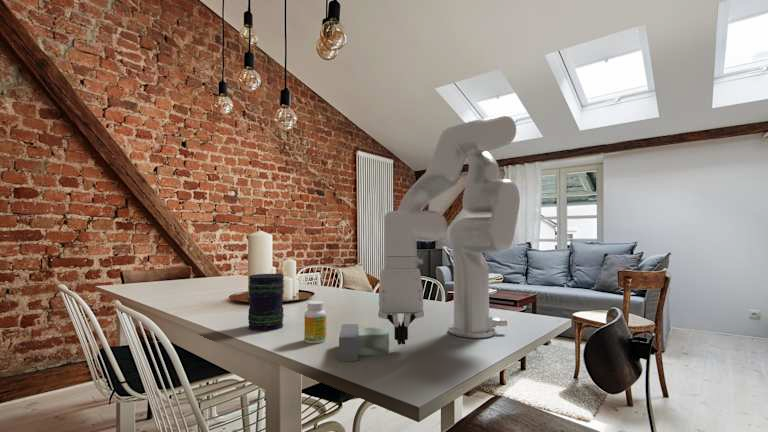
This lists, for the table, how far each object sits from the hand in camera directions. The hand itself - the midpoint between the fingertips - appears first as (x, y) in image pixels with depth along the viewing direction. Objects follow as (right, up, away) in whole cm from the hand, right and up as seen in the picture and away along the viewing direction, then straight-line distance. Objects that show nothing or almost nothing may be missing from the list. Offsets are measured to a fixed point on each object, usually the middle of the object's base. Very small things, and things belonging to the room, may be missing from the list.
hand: (401, 342), depth 90 cm
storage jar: (-38, -3, +23) cm, 45 cm away
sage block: (-6, -2, +1) cm, 7 cm away
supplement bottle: (-22, -3, +9) cm, 23 cm away
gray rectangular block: (-12, -2, -1) cm, 12 cm away
